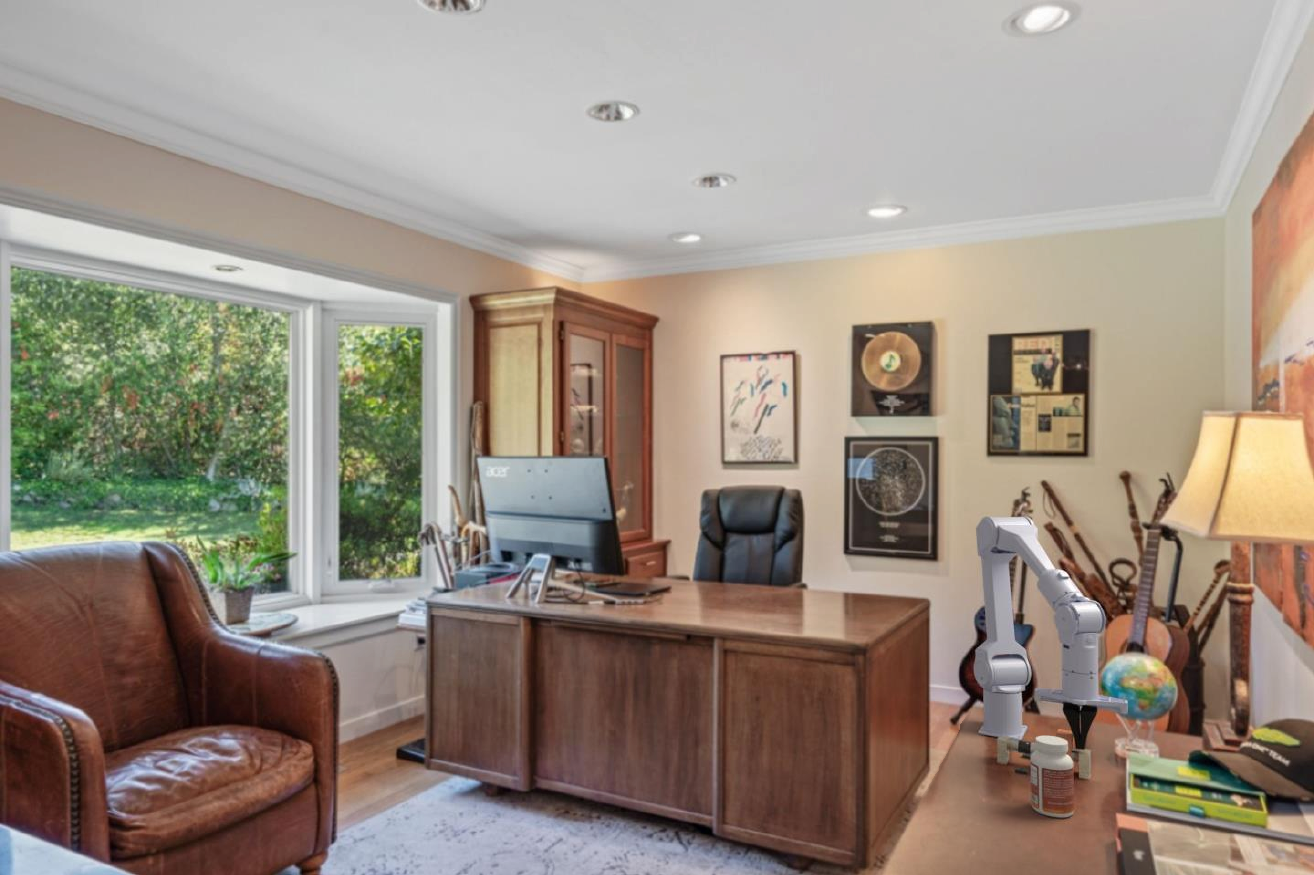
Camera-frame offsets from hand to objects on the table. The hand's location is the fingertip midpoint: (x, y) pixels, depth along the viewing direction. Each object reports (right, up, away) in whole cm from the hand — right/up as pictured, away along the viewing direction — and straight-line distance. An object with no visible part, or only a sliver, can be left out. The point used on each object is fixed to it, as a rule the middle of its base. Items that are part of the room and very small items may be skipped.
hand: (1080, 747), depth 146 cm
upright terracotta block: (-2, -5, +1) cm, 5 cm away
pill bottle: (-12, -5, -15) cm, 20 cm away
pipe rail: (-5, -5, +3) cm, 8 cm away
